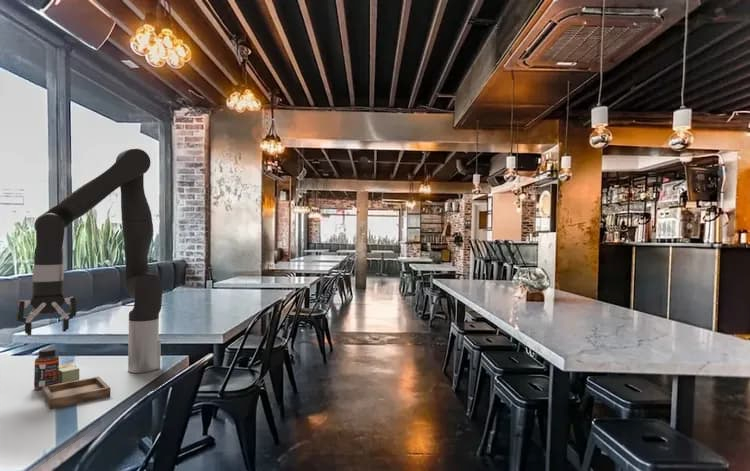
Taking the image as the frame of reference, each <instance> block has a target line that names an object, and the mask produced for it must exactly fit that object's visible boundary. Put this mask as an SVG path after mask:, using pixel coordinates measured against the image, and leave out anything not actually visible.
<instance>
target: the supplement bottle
mask: <svg viewBox="0 0 750 471" xmlns="http://www.w3.org/2000/svg"><path fill="white" fill-rule="evenodd" d="M37 356H38V357H36V358H35V359H34V375H33V376H34V377H33V378H34V380H33V387H34V389H36V390H41V391H42V387H43V386H49V385H54V384H58V379H59V365H60V358H59V356H58V355H57V354H56V348H55V347H53V348H51V347H50V348H42V349H39V352H38V355H37Z"/></svg>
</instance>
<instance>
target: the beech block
mask: <svg viewBox="0 0 750 471" xmlns="http://www.w3.org/2000/svg"><path fill="white" fill-rule="evenodd" d="M71 366H75V367H77V363H76V362H75V363H74V362H73V363H72V362H71V363H64V364H59V369H60V368H66V367H71Z"/></svg>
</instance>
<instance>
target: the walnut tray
mask: <svg viewBox="0 0 750 471" xmlns="http://www.w3.org/2000/svg"><path fill="white" fill-rule="evenodd" d="M41 392H42V393H41V395H42V398H43V399H44V401H45V403H46V405H47V406H48V408H49V410H52V409H56V408H58V409H59V408H62V407H67V406H72V405H77V404H81V403H85V402H90V401H91V402H92V401H95V400H99V399H106V398H110V397H111V387H110V385H108V384H107V383H106V382H105V381H104V380H103V379H102V378H101V377H100V376H93V377H88V378H83V379H79V380H76V381H71V382H65V383H60V384H54V385H49V386H43V387H42V390H41Z"/></svg>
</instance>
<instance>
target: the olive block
mask: <svg viewBox="0 0 750 471" xmlns="http://www.w3.org/2000/svg"><path fill="white" fill-rule="evenodd" d="M76 380H80V368H79V367H77V366H76V367H75V366H71V367H66V368H60V369H59V379H58V384H60V383H65V382H71V381H76Z"/></svg>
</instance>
